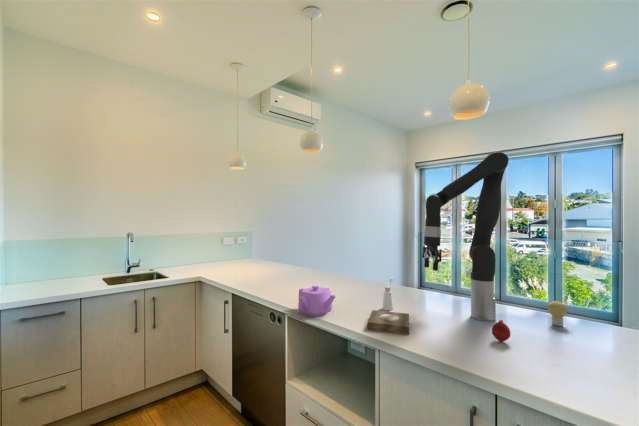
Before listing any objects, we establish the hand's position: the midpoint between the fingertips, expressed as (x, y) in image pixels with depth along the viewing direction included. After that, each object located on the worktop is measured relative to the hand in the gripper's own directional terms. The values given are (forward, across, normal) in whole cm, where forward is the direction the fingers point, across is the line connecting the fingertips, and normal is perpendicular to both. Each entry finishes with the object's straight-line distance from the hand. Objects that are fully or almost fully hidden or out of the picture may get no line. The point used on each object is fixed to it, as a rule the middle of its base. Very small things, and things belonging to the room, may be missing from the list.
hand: (430, 268), depth 140 cm
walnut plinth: (+22, -16, +26) cm, 38 cm away
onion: (+20, -37, -9) cm, 43 cm away
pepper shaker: (+22, +5, +19) cm, 29 cm away
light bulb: (+18, -24, -45) cm, 54 cm away
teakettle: (+24, +4, +55) cm, 60 cm away
